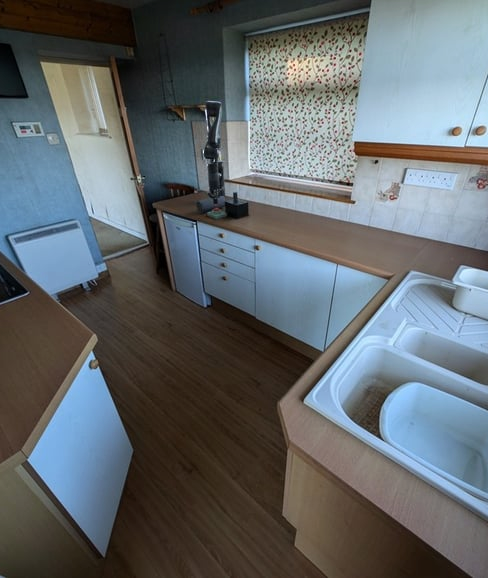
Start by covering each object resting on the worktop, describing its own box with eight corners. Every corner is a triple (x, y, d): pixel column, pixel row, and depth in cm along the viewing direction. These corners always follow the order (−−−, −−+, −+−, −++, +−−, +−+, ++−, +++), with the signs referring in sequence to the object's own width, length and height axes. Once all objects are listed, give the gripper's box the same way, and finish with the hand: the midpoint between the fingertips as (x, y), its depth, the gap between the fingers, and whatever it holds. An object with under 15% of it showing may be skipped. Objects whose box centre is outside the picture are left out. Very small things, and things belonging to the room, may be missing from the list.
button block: (206, 215, 218) (206, 210, 216) (217, 212, 224) (217, 207, 222) (216, 219, 211) (215, 213, 209) (227, 216, 216) (226, 210, 214)
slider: (233, 199, 217) (232, 192, 215) (235, 198, 219) (235, 191, 216) (235, 199, 216) (234, 192, 213) (237, 199, 217) (237, 192, 215)
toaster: (225, 214, 220) (224, 201, 214) (236, 211, 226) (236, 198, 221) (237, 219, 210) (236, 204, 205) (249, 215, 217) (248, 201, 212)
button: (213, 211, 216) (212, 208, 215) (217, 210, 218) (216, 207, 217) (215, 212, 213) (215, 209, 212) (219, 211, 215) (219, 208, 214)
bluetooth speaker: (203, 215, 219) (202, 201, 214) (196, 212, 225) (195, 199, 220) (227, 209, 232) (226, 196, 227) (220, 206, 238) (219, 194, 233)
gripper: (218, 177, 210) (220, 201, 219) (202, 179, 202) (205, 204, 212) (224, 178, 205) (226, 203, 214) (208, 181, 198) (211, 207, 207)
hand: (215, 204), depth 213 cm, fingers closed
